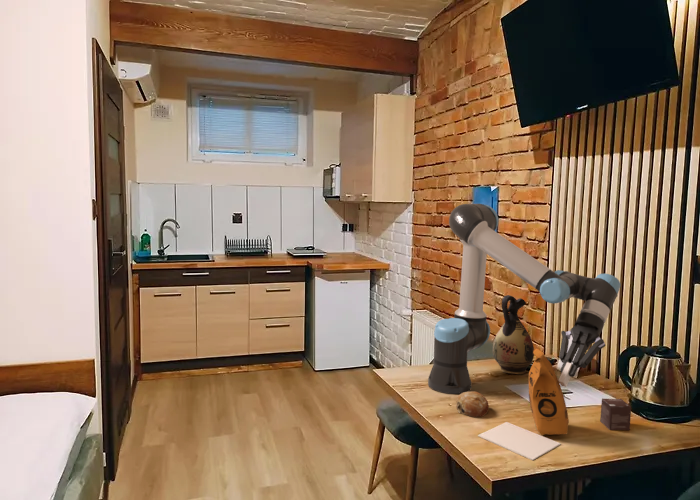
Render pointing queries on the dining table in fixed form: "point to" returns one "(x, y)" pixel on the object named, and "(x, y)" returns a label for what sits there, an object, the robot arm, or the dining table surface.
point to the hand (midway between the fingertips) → (562, 384)
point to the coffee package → (546, 397)
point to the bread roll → (472, 404)
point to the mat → (519, 440)
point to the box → (615, 414)
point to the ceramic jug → (513, 340)
